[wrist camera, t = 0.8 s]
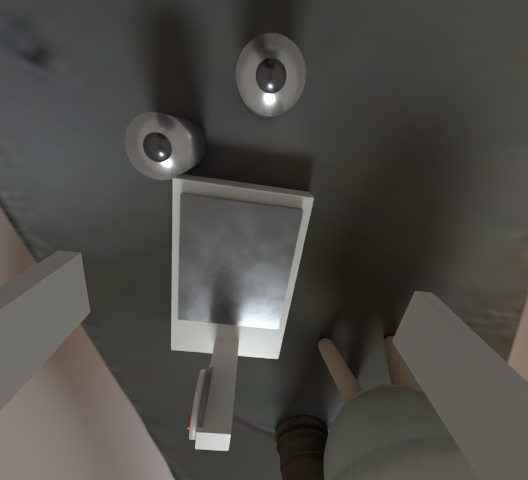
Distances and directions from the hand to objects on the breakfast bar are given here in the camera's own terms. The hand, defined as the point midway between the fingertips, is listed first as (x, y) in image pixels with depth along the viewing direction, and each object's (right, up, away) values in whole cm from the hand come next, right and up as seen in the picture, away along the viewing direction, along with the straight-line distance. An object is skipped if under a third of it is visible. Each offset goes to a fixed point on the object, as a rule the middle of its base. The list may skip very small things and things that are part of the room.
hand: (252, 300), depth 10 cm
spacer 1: (-8, +12, +16) cm, 22 cm away
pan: (-3, 0, +18) cm, 18 cm away
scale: (-3, -2, +22) cm, 22 cm away
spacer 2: (+1, +17, +14) cm, 22 cm away
